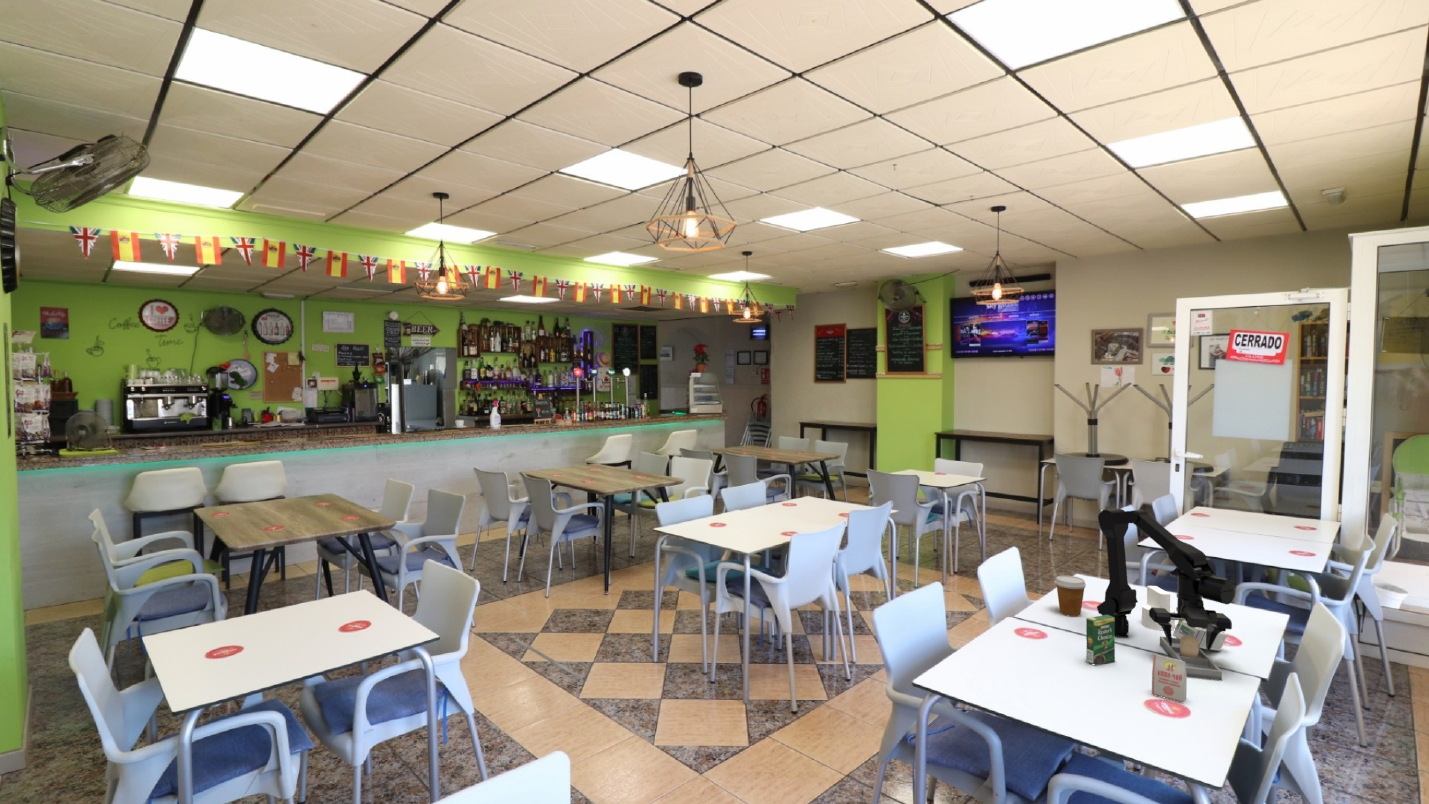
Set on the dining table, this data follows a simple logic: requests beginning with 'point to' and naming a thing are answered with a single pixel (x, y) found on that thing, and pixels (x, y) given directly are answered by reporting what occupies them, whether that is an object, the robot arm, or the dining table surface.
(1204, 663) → the grey divided tray
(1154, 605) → the base with upright slab
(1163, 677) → the tea bag
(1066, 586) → the disposable coffee cup
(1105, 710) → the dining table surface
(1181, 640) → the beige domed cylinder
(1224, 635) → the syrup box
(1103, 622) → the coffee box
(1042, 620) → the dining table surface
